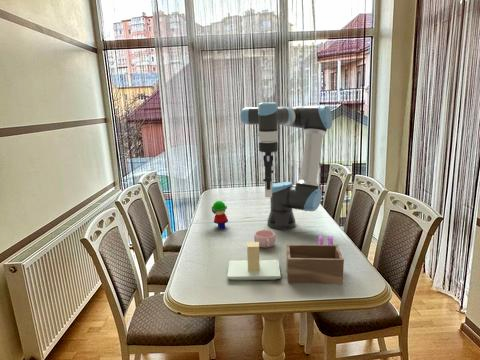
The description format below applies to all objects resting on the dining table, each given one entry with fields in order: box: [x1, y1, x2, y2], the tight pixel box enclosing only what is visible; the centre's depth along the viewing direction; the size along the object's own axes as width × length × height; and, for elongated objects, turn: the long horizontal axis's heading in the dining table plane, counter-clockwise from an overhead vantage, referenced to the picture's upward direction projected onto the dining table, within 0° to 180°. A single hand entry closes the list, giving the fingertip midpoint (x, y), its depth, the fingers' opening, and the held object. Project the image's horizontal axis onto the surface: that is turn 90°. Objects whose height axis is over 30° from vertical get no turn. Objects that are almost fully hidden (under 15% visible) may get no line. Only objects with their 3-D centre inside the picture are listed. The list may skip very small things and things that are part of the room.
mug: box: [253, 229, 277, 249], centre depth 156 cm, size 12×10×6 cm
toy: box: [211, 200, 229, 230], centre depth 180 cm, size 9×9×15 cm
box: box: [286, 243, 345, 285], centre depth 129 cm, size 13×20×10 cm, turn 84°
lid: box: [226, 241, 282, 281], centre depth 132 cm, size 13×20×12 cm, turn 88°
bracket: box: [317, 235, 334, 245], centre depth 145 cm, size 13×6×7 cm, turn 178°
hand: (268, 192), depth 141 cm, fingers open, 13 cm apart
